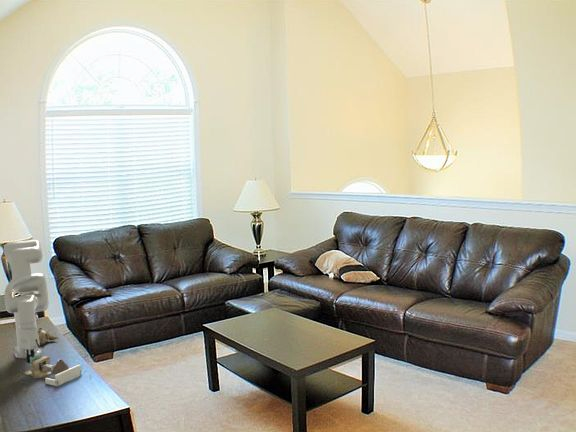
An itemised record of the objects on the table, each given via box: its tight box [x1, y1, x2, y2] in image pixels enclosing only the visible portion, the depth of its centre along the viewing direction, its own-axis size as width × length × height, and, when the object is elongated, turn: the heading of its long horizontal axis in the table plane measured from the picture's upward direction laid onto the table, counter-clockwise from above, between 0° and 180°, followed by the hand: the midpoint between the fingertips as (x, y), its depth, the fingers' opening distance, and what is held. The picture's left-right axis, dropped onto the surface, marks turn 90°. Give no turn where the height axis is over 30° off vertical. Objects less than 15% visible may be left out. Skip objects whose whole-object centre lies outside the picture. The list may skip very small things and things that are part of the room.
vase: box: [52, 359, 70, 378], centre depth 265 cm, size 7×7×9 cm
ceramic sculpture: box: [37, 327, 59, 346], centre depth 319 cm, size 11×9×15 cm
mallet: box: [29, 353, 56, 373], centre depth 270 cm, size 14×5×8 cm, turn 62°
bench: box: [23, 356, 54, 379], centre depth 272 cm, size 13×8×7 cm, turn 62°
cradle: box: [44, 364, 82, 387], centre depth 264 cm, size 8×14×5 cm, turn 152°
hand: (31, 362), depth 274 cm, fingers closed
